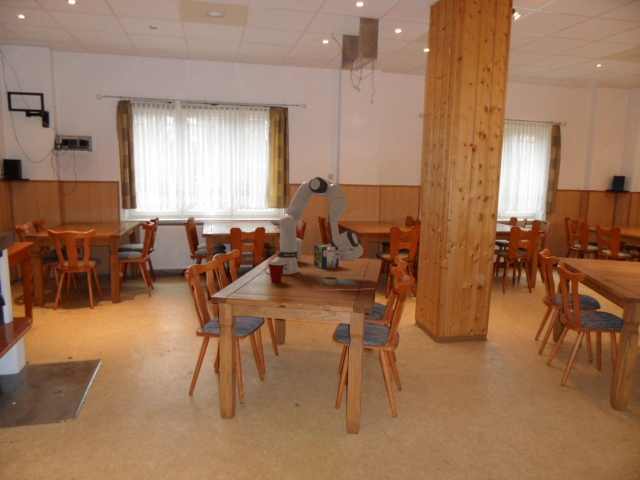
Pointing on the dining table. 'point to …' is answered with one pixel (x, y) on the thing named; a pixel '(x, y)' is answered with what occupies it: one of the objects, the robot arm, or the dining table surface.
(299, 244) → the canister
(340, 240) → the robot arm
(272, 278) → the plastic cup
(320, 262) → the protein box
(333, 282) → the brass collar
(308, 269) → the dining table surface
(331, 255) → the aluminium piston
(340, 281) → the rubber mat
